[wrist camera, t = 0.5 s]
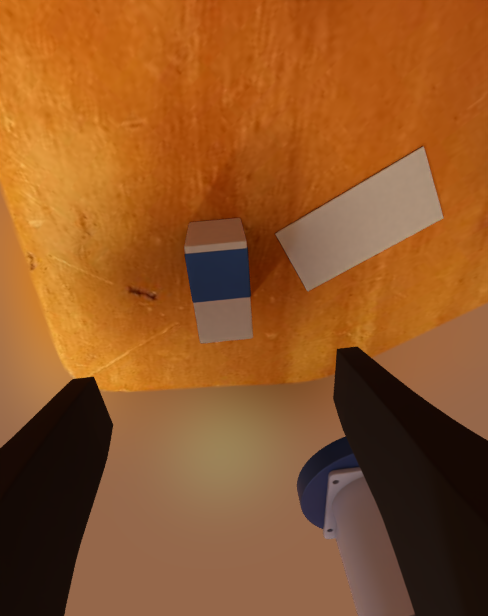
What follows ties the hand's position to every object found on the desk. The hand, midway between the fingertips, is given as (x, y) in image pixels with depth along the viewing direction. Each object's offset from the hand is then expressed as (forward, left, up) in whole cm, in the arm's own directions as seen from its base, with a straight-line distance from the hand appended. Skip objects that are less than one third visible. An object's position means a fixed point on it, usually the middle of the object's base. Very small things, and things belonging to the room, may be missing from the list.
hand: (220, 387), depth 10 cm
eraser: (0, 0, -9) cm, 9 cm away
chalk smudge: (+1, -8, -9) cm, 12 cm away
